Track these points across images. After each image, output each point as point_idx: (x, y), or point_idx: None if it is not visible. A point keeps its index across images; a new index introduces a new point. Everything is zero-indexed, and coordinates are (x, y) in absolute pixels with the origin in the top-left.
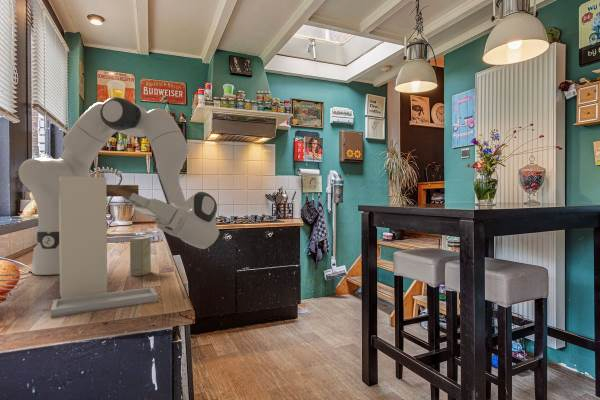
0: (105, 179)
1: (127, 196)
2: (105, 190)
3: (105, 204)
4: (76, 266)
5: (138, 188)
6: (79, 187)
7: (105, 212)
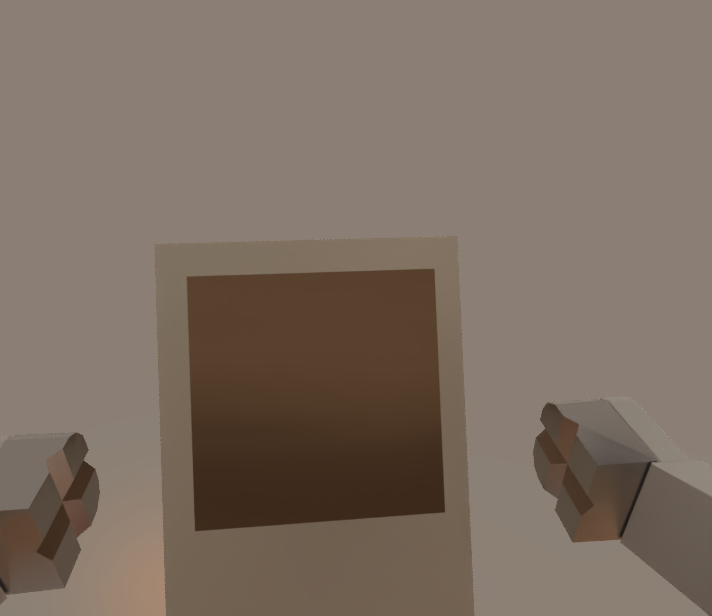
0: (155, 263)
1: (567, 461)
2: (162, 361)
3: (165, 488)
4: None
5: (189, 350)
6: None
7: (167, 561)
